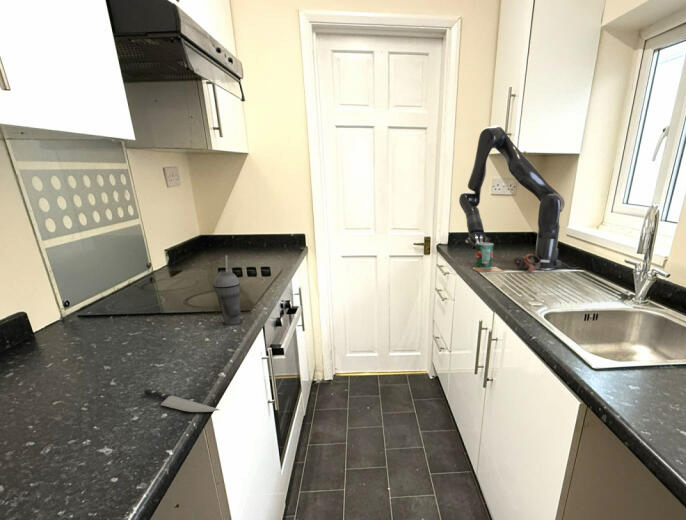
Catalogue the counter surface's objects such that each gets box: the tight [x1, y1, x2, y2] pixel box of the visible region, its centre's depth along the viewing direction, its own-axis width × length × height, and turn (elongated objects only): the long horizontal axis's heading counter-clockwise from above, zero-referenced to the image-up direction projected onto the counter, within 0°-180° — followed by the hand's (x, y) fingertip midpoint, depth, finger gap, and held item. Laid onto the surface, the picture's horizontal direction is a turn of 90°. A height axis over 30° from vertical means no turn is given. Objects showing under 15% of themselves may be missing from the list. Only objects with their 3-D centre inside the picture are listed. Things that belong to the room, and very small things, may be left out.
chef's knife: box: [143, 388, 220, 413], centre depth 79 cm, size 19×1×3 cm
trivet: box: [472, 266, 504, 273], centre depth 192 cm, size 12×9×1 cm
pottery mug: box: [513, 253, 541, 273], centre depth 189 cm, size 12×10×8 cm
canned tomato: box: [474, 241, 495, 269], centre depth 194 cm, size 8×8×11 cm
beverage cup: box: [212, 254, 242, 326], centre depth 120 cm, size 7×7×20 cm
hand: (481, 255), depth 199 cm, fingers closed
